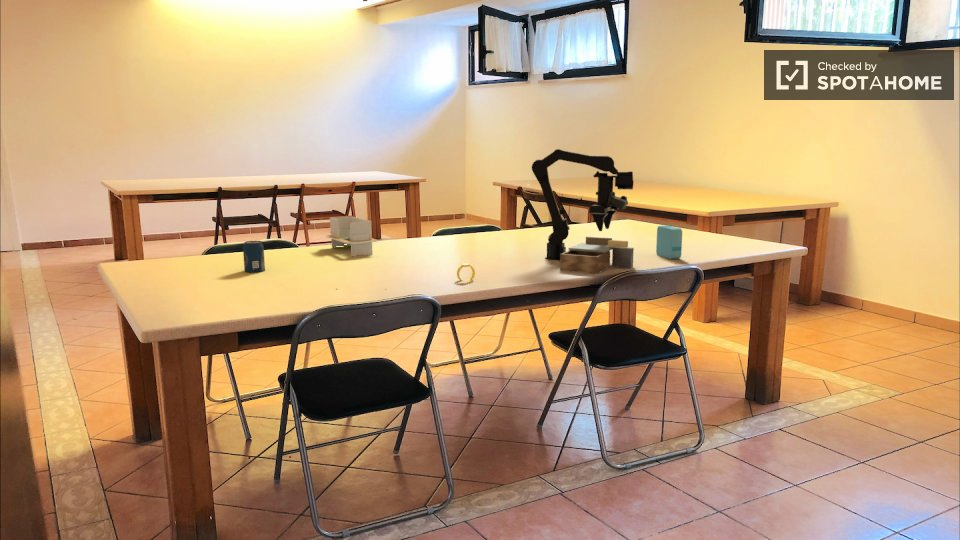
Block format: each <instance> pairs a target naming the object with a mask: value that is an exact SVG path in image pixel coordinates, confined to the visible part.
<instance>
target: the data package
mask: <svg viewBox="0 0 960 540" xmlns="http://www.w3.org/2000/svg"><path fill="white" fill-rule="evenodd" d="M655 248H656V249H655V250H656V255H657V256H660V257H662V258H665V259H668V260H677V259H679V260H680V259H681V257H682V251H683V250H682V248H683V230H682V228H680V227H676V226H672V225H659V226H657V228H656V247H655Z"/></svg>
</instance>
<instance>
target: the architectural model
mask: <svg viewBox="0 0 960 540" xmlns="http://www.w3.org/2000/svg"><path fill="white" fill-rule="evenodd" d="M329 227H330V233H329V234H325V237H326V238H328V239H331V248H332V247H336V246H351V247H350V257H351V256H354V257H357V256H356V255H364V256H372V255H373V243H377V242H378V239H376V238H373V232H372V220H368V219H367V220H366V219H363V218H359V217H356V216H352V215H349V216H336V217H335V216H332V217H329ZM344 244H347V245H344ZM371 254H372V255H371Z"/></svg>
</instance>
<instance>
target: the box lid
mask: <svg viewBox="0 0 960 540" xmlns="http://www.w3.org/2000/svg"><path fill="white" fill-rule="evenodd" d="M608 240H613V238H611V237H596V236H585V242H580V243H578V244H575V245H573V246H570V247H568V251H569V250H574V251H588V252H601V253H606V252H608V251H610V252H611V251H612V250H613V247H614V246H608Z"/></svg>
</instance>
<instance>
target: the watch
mask: <svg viewBox="0 0 960 540" xmlns="http://www.w3.org/2000/svg"><path fill="white" fill-rule="evenodd" d="M469 267H470V269H471V271H472V272H471V273H472V274H471V276H470V277H469V278H468V279H464V280H463V279H462V278H461V277H460V272H461V270H462V269H463V268H469ZM475 274H476V271H475V269H474V267H473V266H472V265H470V263H466V262H465V263H461V265H460V266H459V267H458V268H457V270H456V276H457V279H458V280H459V281H461V282H467V281H468V282H469V281H471V282H472V281H473V279H474V277H475Z"/></svg>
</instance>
